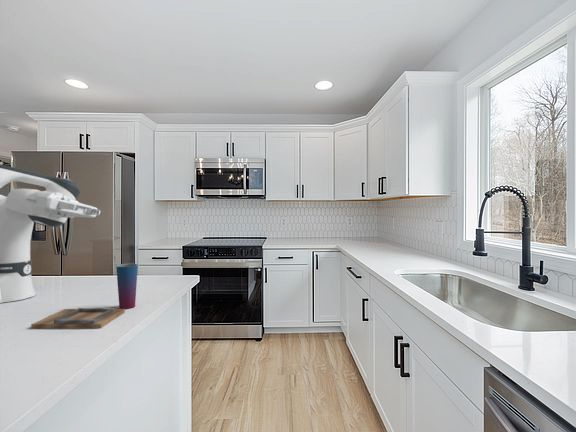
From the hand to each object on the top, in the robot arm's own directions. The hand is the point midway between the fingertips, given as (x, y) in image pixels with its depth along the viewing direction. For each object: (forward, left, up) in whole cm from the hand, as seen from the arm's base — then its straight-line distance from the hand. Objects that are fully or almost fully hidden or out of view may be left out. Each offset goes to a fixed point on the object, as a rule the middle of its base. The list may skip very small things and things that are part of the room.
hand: (87, 210), depth 103 cm
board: (+1, -5, -34) cm, 35 cm away
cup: (+9, +8, -35) cm, 37 cm away
